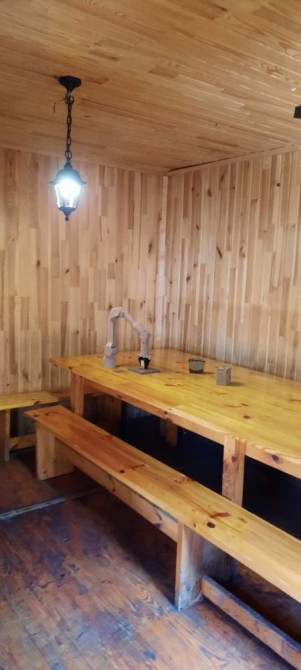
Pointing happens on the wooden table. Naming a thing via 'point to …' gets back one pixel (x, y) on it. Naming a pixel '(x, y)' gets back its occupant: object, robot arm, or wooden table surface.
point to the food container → (196, 365)
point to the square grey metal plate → (120, 371)
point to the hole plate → (148, 371)
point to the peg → (142, 365)
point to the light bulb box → (223, 375)
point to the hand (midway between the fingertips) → (144, 368)
